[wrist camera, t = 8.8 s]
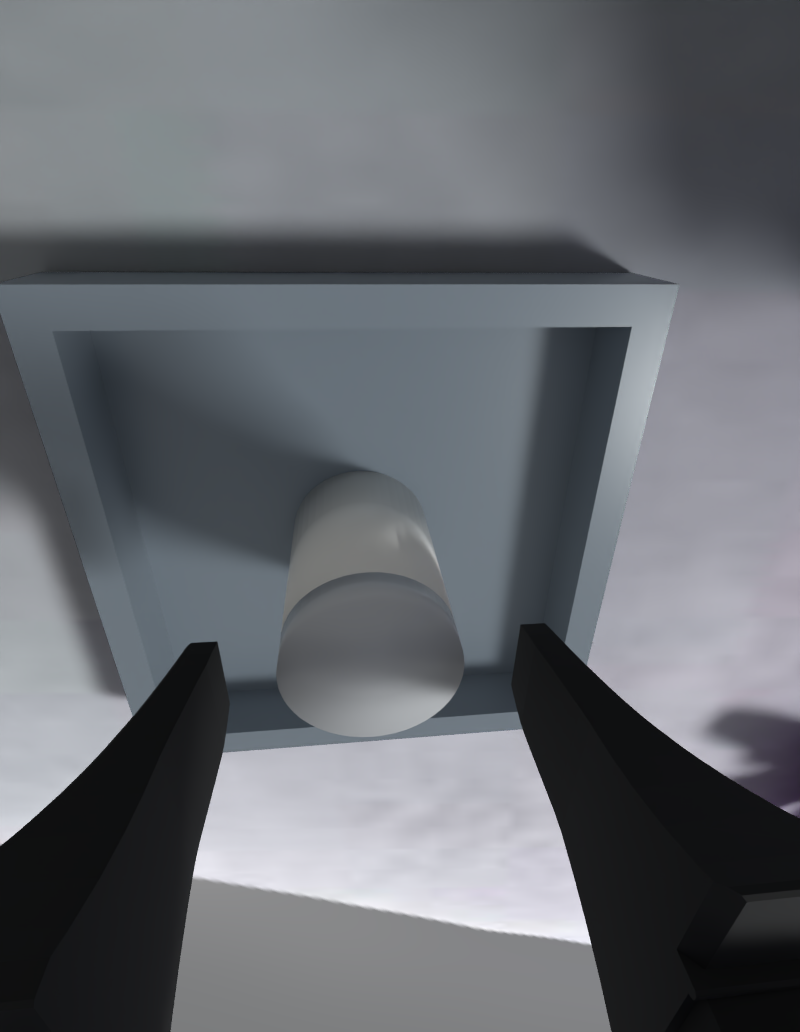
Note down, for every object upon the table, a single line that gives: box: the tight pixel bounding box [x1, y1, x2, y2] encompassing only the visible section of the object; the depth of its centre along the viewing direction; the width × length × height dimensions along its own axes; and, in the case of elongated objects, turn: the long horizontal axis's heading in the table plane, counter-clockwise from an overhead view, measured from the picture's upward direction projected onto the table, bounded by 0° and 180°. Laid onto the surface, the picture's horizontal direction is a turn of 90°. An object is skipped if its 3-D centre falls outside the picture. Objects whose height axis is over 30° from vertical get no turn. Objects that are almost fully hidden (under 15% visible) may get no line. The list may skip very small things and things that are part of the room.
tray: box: [0, 272, 680, 752], centre depth 18 cm, size 16×16×2 cm
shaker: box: [276, 471, 464, 737], centre depth 16 cm, size 4×4×6 cm
